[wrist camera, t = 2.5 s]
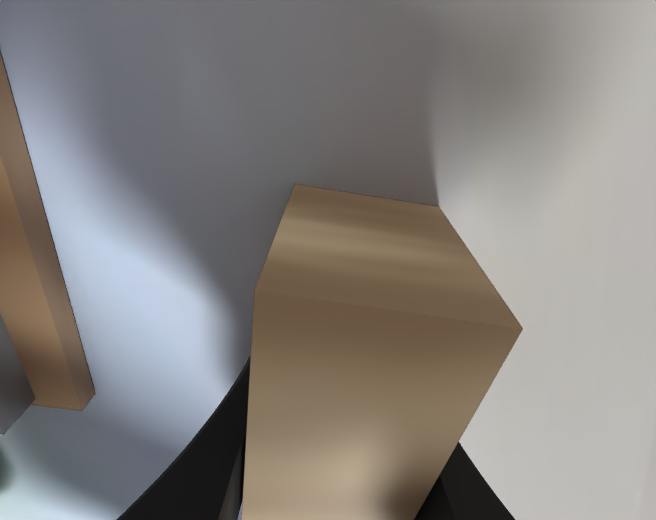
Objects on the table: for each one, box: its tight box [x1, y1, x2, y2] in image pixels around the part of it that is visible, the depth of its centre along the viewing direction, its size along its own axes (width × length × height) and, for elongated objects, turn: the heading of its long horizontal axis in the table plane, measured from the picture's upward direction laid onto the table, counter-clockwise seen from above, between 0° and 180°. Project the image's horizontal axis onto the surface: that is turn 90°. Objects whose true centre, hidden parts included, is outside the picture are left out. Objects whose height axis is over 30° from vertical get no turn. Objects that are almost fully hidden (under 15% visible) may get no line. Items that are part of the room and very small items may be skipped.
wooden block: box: [242, 184, 523, 520], centre depth 10 cm, size 12×4×5 cm, turn 171°
